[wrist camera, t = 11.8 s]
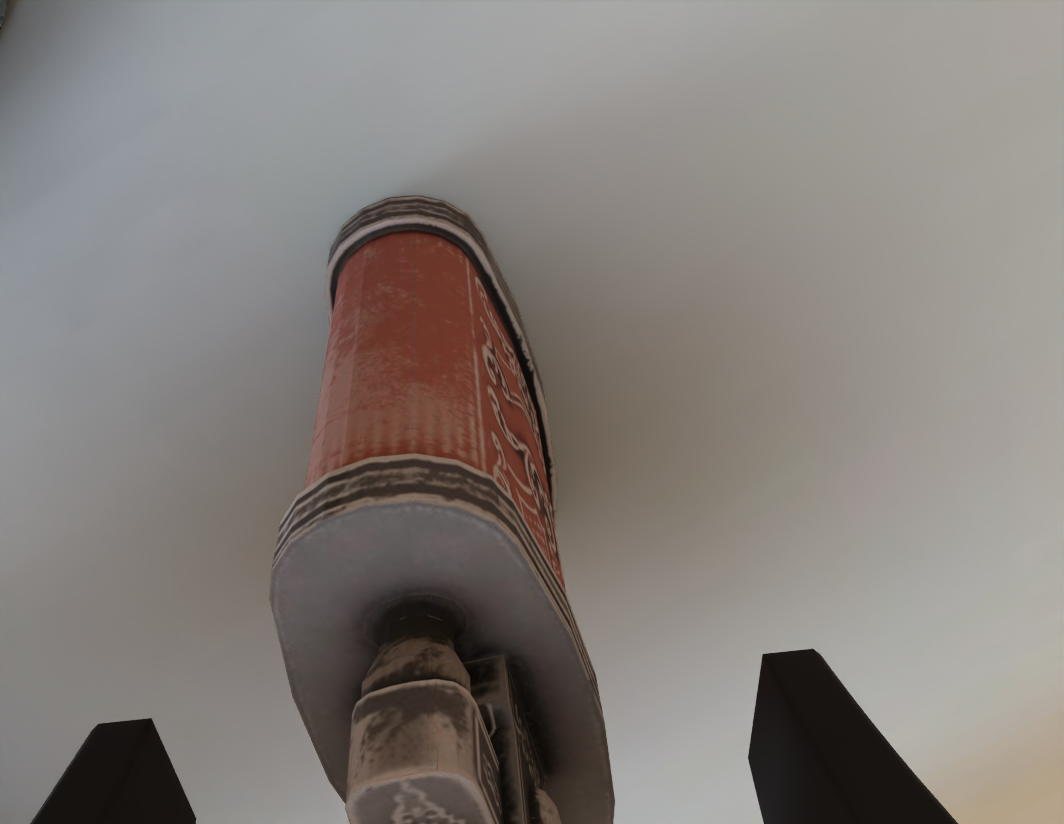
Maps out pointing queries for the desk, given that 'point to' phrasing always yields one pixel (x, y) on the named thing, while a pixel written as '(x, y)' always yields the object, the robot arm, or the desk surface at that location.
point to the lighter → (435, 547)
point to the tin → (2, 10)
